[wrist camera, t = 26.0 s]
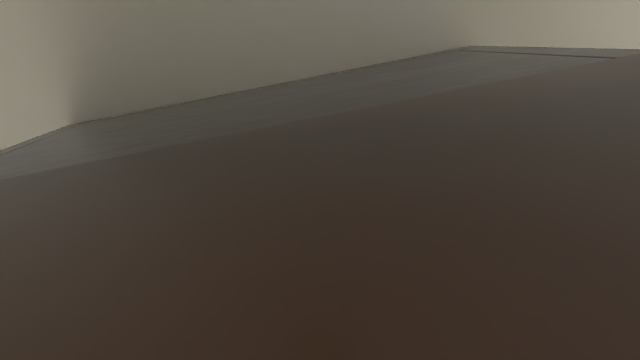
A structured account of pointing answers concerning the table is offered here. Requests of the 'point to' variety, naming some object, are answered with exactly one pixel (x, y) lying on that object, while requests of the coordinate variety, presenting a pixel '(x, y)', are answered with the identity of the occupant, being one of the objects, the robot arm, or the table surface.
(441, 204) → the case lid
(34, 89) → the table surface
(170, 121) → the case
